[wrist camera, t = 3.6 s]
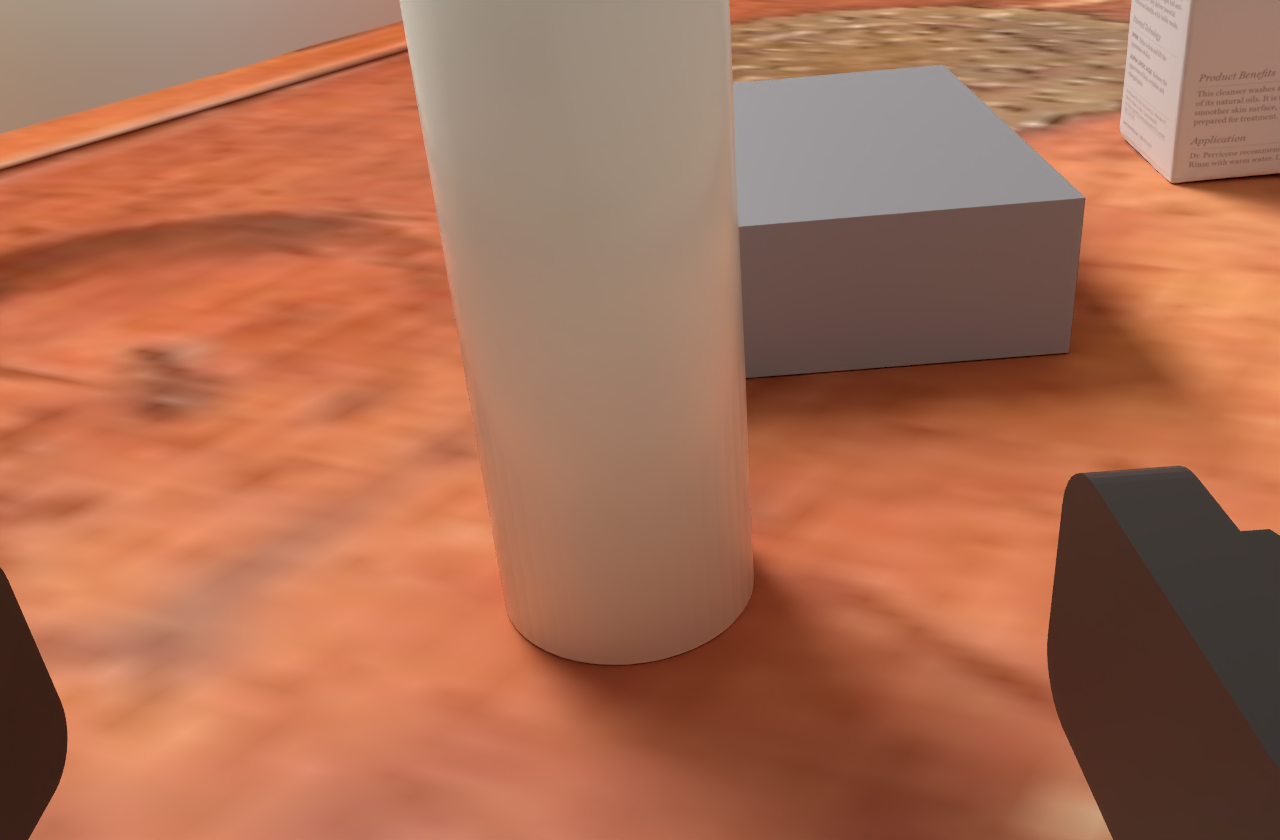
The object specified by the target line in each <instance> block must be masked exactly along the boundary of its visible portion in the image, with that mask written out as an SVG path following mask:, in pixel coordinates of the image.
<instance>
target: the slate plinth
mask: <svg viewBox="0 0 1280 840" xmlns="http://www.w3.org/2000/svg"><path fill="white" fill-rule="evenodd" d="M733 102H734V125H735V149H736V172H737V195H738V218H739V241H740V264H741V288H742V311H743V334H744V357H745V378H753V377H766V376H779V375H791V374H804V373H816V372H829V371H842V370H854V369H867V368H880V367H892V366H905V365H918V364H930V363H943V362H956V361H968V360H981V359H994V358H1006V357H1019V356H1032V355H1044V354H1057V353H1069V349H1070V339H1071V330H1072V320H1073V311H1074V301H1075V292H1076V282H1077V273H1078V263H1079V254H1080V245H1081V235H1082V226H1083V216H1084V207H1085V197H1084V196H1083V195H1082V194H1081V193H1080V192H1079V191H1078V190H1077V189H1076V188H1074V187H1073V186H1072V185H1071V184H1070V183H1069V182H1068V181H1067V180H1066V179H1065V178H1064V177H1063V176H1062V175H1061V174H1059V173H1058V172H1057V171H1056V170H1055V169H1054V168H1053V167H1052V166H1051V165H1050V164H1049V163H1048V162H1047V161H1046V160H1044V159H1043V158H1042V157H1041V156H1040V155H1039V154H1038V153H1037V152H1036V151H1035V150H1034V149H1033V148H1032V147H1031V146H1030V145H1028V144H1027V143H1026V142H1025V141H1024V140H1023V139H1022V138H1021V137H1020V136H1019V135H1018V134H1017V133H1016V132H1015V131H1013V130H1012V129H1011V128H1010V127H1009V126H1008V125H1007V124H1006V123H1005V122H1004V121H1003V120H1002V119H1001V118H1000V117H999V116H997V115H996V114H995V113H994V112H993V111H992V110H991V109H990V108H989V107H988V106H987V105H986V104H985V103H984V102H982V101H981V100H980V99H979V98H978V97H977V96H976V95H975V94H974V93H973V92H972V91H971V90H970V89H969V88H967V87H966V86H965V85H964V84H963V83H962V82H961V81H960V80H959V79H958V78H957V77H956V76H955V75H954V74H953V73H951V72H950V71H949V70H948V69H947V68H946V67H945V66H944V65H935V66H923V67H912V68H900V69H889V70H878V71H866V72H855V73H843V74H832V75H821V76H809V77H798V78H786V79H775V80H764V81H752V82H741V83H733Z"/></svg>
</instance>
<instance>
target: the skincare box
mask: <svg viewBox="0 0 1280 840" xmlns="http://www.w3.org/2000/svg"><path fill="white" fill-rule="evenodd" d="M1120 132H1121V134H1122V136H1123V138H1124V139H1125V140H1126V141H1127V142H1128V143H1129V144H1130V145H1131V146H1132V147H1133V148H1134V149H1136V150H1137V151H1138V152H1139V153H1140V154H1141V155H1142V156H1143V157H1144V158H1145V159H1146V160H1147V161H1148V162H1149V163H1150V164H1151V165H1152V166H1153V167H1154V168H1155V169H1156V170H1157V171H1158V172H1159V173H1160V174H1161V175H1162V176H1163V177H1164V178H1166V179H1167V180H1168V181H1169V182H1170V183H1182V182H1190V181H1200V180H1210V179H1220V178H1231V177H1242V176H1253V175H1265V174H1275V173H1280V0H1132V4H1131V14H1130V27H1129V36H1128V49H1127V61H1126V70H1125V80H1124V90H1123V100H1122V111H1121V121H1120Z"/></svg>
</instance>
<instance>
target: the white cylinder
mask: <svg viewBox="0 0 1280 840" xmlns="http://www.w3.org/2000/svg"><path fill="white" fill-rule="evenodd" d="M400 6H401V12H402V18H403V23H404V29H405V35H406V41H407V46H408V52H409V58H410V64H411V69H412V75H413V81H414V86H415V92H416V98H417V104H418V109H419V115H420V121H421V126H422V132H423V138H424V144H425V149H426V155H427V161H428V167H429V172H430V178H431V184H432V189H433V195H434V201H435V207H436V212H437V218H438V224H439V229H440V235H441V241H442V247H443V252H444V258H445V264H446V269H447V275H448V281H449V287H450V292H451V298H452V304H453V310H454V315H455V321H456V327H457V332H458V338H459V344H460V350H461V355H462V361H463V367H464V372H465V378H466V384H467V390H468V395H469V401H470V407H471V413H472V418H473V424H474V430H475V435H476V441H477V447H478V453H479V458H480V464H481V470H482V475H483V481H484V487H485V493H486V498H487V504H488V510H489V515H490V521H491V527H492V533H493V538H494V544H495V550H496V556H497V561H498V567H499V573H500V578H501V584H502V590H503V596H504V601H505V607H506V611H507V613H508V616H509V618H510V620H511V622H512V623H513V625H514V626H515V628H516V629H517V630H518V631H519V632H520V633H521V634H522V635H523V636H524V637H525V638H526V639H528V640H529V641H530V642H532V643H533V644H534V645H536V646H538V647H540V648H541V649H543V650H545V651H547V652H550V653H552V654H555V655H557V656H560V657H563V658H567V659H570V660H574V661H579V662H585V663H591V664H603V665H629V664H638V663H647V662H652V661H657V660H661V659H666V658H669V657H672V656H676V655H679V654H682V653H685V652H687V651H689V650H692V649H694V648H697V647H699V646H701V645H703V644H704V643H706V642H708V641H710V640H712V639H713V638H715V637H716V636H718V635H719V634H721V633H722V632H723V631H725V630H726V629H727V628H728V627H729V626H730V625H731V624H733V623H734V622H735V620H736V619H737V618H738V617H739V616H740V615H741V613H742V612H743V611H744V609H745V607H746V606H747V604H748V602H749V600H750V597H751V595H752V592H753V586H754V566H753V543H752V519H751V496H750V473H749V450H748V427H747V404H746V380H745V357H744V334H743V311H742V288H741V264H740V241H739V218H738V195H737V172H736V149H735V125H734V102H733V79H732V56H731V33H730V10H729V0H400Z"/></svg>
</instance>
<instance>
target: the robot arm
mask: <svg viewBox="0 0 1280 840" xmlns="http://www.w3.org/2000/svg"><path fill="white" fill-rule="evenodd" d="M1047 656H1048V670H1049V678H1050V684H1051V690H1052V695H1053V699H1054V703H1055V707H1056V711H1057V714H1058V717H1059V720H1060V722H1061V725H1062V727H1063V729H1064V732H1065V734H1066V736H1067V738H1068V740H1069V743H1070V745H1071V747H1072V749H1073V752H1074V754H1075V756H1076V758H1077V760H1078V763H1079V765H1080V767H1081V769H1082V771H1083V774H1084V776H1085V778H1086V780H1087V782H1088V785H1089V787H1090V789H1091V791H1092V794H1093V796H1094V798H1095V800H1096V802H1097V805H1098V807H1099V809H1100V811H1101V813H1102V816H1103V818H1104V820H1105V822H1106V824H1107V827H1108V829H1109V831H1110V833H1111V836H1112V838H1113V840H1280V536H1279V535H1278V534H1276V533H1275V532H1273V531H1271V530H1270V529H1266V530H1252V531H1240V530H1239V529H1238V528H1237V527H1236V525H1235V524H1234V523H1233V522H1232V520H1231V519H1230V518H1229V517H1228V515H1227V514H1226V513H1225V512H1224V510H1223V509H1222V508H1221V507H1220V505H1219V504H1218V503H1217V502H1216V500H1215V499H1214V498H1213V497H1212V495H1211V494H1210V493H1209V492H1208V490H1207V489H1206V488H1205V487H1204V485H1203V484H1202V483H1201V482H1200V480H1199V479H1198V478H1197V477H1196V476H1195V475H1194V474H1193V473H1192V472H1191V471H1190V470H1189V469H1187V468H1186V467H1182V466H1170V467H1157V468H1143V469H1130V470H1117V471H1103V472H1090V473H1078V474H1075V475H1074V476H1072V477H1071V479H1070V480H1069V482H1068V484H1067V487H1066V489H1065V493H1064V498H1063V504H1062V513H1061V522H1060V531H1059V540H1058V549H1057V558H1056V567H1055V576H1054V585H1053V594H1052V603H1051V612H1050V621H1049V630H1048V642H1047ZM66 753H67V725H66V718H65V713H64V709H63V706H62V704H61V701H60V698H59V696H58V694H57V692H56V689H55V687H54V685H53V682H52V680H51V678H50V675H49V673H48V671H47V669H46V666H45V664H44V662H43V659H42V657H41V655H40V652H39V650H38V648H37V646H36V643H35V641H34V639H33V636H32V634H31V632H30V629H29V627H28V625H27V623H26V620H25V618H24V616H23V613H22V611H21V609H20V606H19V604H18V602H17V599H16V597H15V595H14V593H13V590H12V588H11V586H10V583H9V581H8V579H7V577H6V575H5V573H4V572H3V570H2V569H1V568H0V840H28V839H29V837H30V835H31V834H32V832H33V830H34V828H35V826H36V825H37V823H38V821H39V819H40V818H41V816H42V814H43V812H44V810H45V809H46V807H47V805H48V803H49V802H50V800H51V798H52V796H53V794H54V793H55V791H56V788H57V786H58V784H59V782H60V779H61V776H62V773H63V769H64V765H65V760H66Z"/></svg>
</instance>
